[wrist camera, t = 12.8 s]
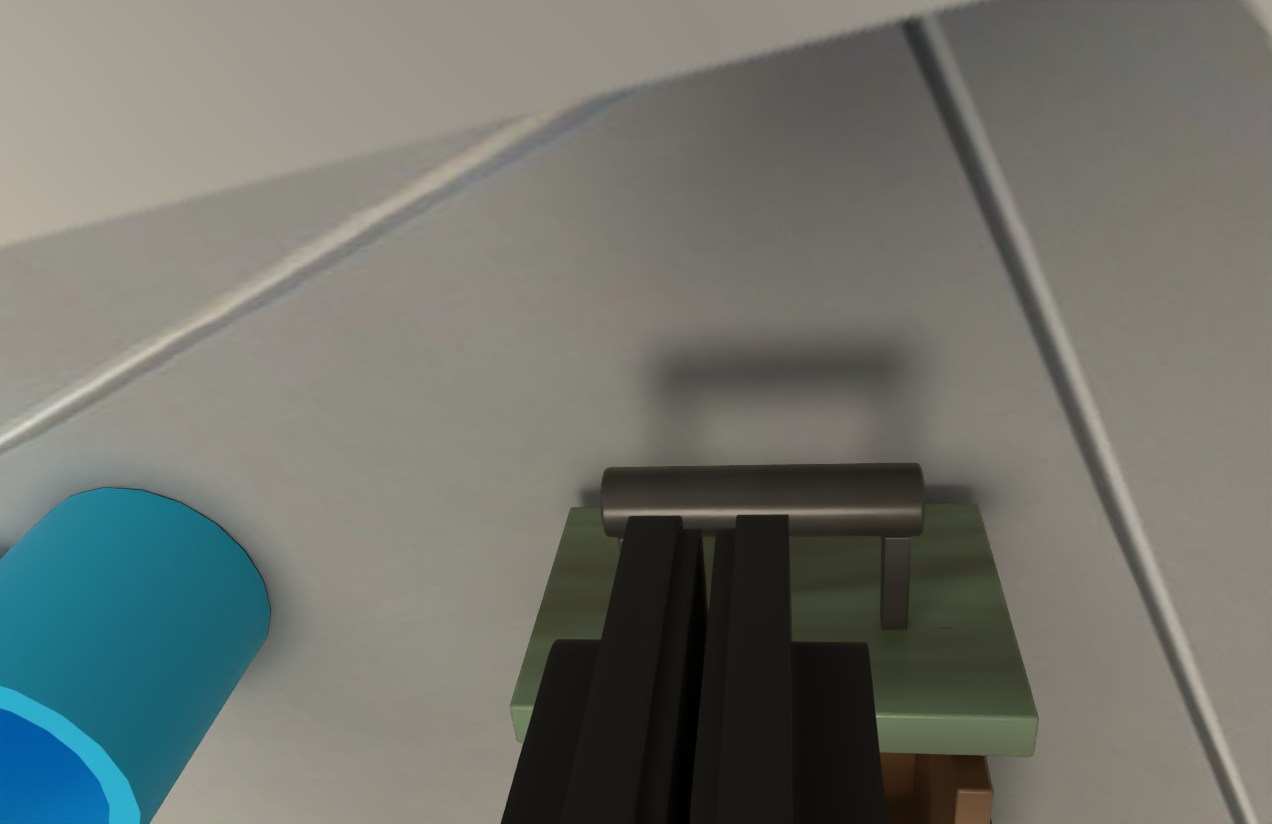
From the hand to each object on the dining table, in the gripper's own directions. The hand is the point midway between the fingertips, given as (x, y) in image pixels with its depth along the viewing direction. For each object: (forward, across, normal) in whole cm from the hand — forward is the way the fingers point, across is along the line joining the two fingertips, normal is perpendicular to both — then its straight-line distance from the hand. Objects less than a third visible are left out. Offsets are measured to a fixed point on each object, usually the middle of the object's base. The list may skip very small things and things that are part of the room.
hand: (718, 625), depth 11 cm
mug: (+17, +23, +12) cm, 31 cm away
